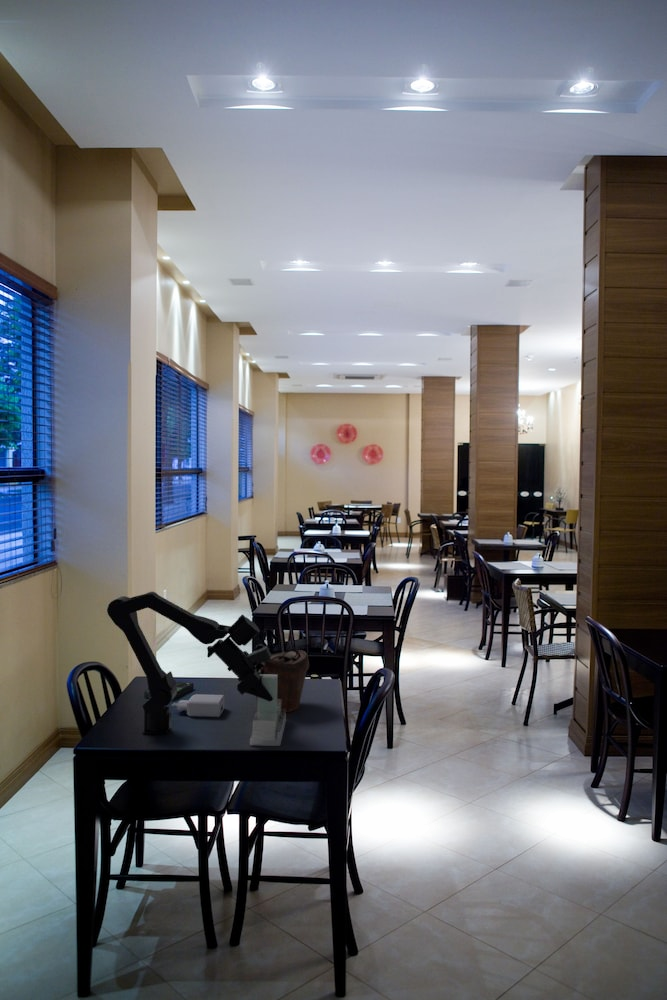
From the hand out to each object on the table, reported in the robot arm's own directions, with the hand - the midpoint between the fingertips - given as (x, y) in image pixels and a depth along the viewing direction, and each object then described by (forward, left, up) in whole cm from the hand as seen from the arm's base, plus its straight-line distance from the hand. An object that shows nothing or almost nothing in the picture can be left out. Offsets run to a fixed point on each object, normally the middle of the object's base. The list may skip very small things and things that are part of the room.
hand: (272, 697), depth 209 cm
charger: (-24, +18, -10) cm, 32 cm away
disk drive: (-37, +38, -10) cm, 54 cm away
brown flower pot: (0, +25, -10) cm, 27 cm away
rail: (-1, 0, -10) cm, 10 cm away
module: (-1, 0, -7) cm, 7 cm away
